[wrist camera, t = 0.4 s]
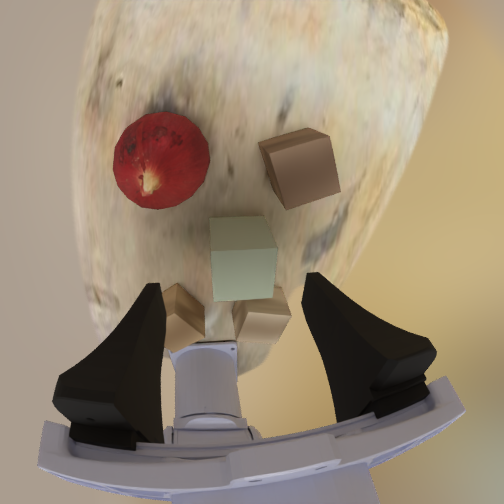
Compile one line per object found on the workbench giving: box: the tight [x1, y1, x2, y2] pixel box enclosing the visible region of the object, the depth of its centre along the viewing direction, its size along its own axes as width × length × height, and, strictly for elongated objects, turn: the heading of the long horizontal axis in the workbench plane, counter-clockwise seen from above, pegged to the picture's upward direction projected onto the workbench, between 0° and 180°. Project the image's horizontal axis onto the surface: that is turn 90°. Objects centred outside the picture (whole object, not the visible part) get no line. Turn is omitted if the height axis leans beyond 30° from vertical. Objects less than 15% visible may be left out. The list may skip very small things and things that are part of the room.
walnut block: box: [258, 128, 341, 210], centre depth 18 cm, size 4×4×4 cm
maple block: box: [232, 287, 292, 344], centre depth 25 cm, size 4×4×4 cm
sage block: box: [209, 216, 278, 302], centre depth 21 cm, size 4×4×5 cm
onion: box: [113, 112, 210, 210], centre depth 14 cm, size 6×6×8 cm
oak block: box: [162, 283, 205, 353], centre depth 24 cm, size 4×4×4 cm
